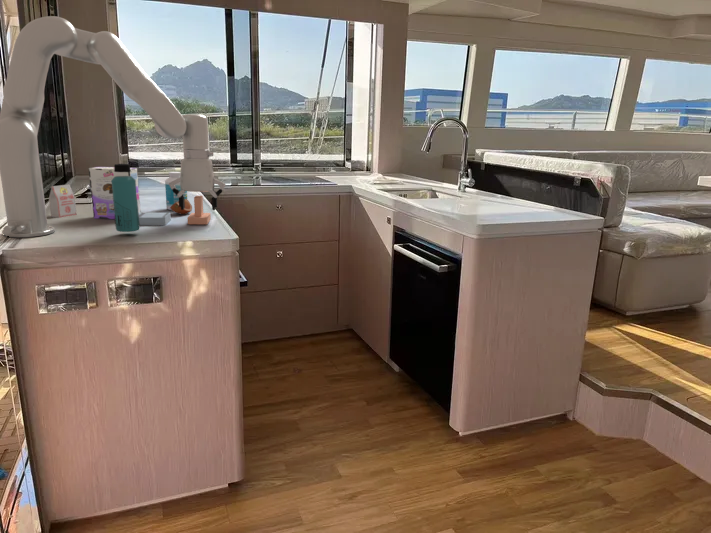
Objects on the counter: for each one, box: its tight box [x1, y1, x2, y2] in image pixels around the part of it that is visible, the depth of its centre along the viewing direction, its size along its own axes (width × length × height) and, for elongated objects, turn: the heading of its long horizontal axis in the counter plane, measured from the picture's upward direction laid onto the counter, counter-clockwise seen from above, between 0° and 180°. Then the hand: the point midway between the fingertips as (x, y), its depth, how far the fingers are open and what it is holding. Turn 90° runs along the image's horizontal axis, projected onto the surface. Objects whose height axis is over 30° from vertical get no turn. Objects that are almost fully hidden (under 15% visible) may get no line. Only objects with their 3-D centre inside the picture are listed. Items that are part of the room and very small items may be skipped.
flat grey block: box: [139, 212, 172, 226], centre depth 171 cm, size 9×11×2 cm
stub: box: [186, 195, 212, 225], centre depth 172 cm, size 9×6×8 cm, turn 8°
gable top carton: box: [48, 184, 78, 219], centre depth 177 cm, size 4×7×10 cm, turn 158°
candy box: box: [87, 166, 142, 220], centre depth 175 cm, size 14×6×16 cm, turn 84°
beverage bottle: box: [111, 163, 141, 233], centre depth 150 cm, size 6×7×20 cm
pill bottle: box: [164, 171, 188, 211], centre depth 195 cm, size 8×7×14 cm
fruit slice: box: [170, 198, 193, 215], centre depth 187 cm, size 8×7×5 cm
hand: (198, 209), depth 172 cm, fingers open, 9 cm apart
